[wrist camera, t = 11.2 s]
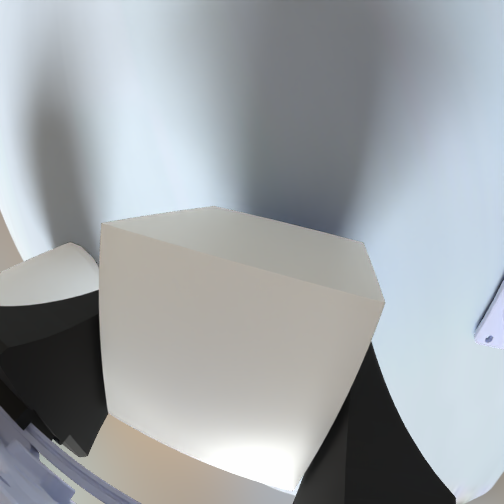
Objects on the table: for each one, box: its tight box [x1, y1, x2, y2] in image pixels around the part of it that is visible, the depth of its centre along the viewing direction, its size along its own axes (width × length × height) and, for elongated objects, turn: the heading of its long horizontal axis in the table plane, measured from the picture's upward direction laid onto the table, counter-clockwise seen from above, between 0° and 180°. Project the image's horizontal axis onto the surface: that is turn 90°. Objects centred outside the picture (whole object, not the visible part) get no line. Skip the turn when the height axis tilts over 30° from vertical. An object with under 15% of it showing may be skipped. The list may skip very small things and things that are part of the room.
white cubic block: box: [99, 206, 385, 491], centre depth 9 cm, size 6×6×6 cm
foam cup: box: [0, 242, 99, 306], centre depth 16 cm, size 10×9×13 cm
